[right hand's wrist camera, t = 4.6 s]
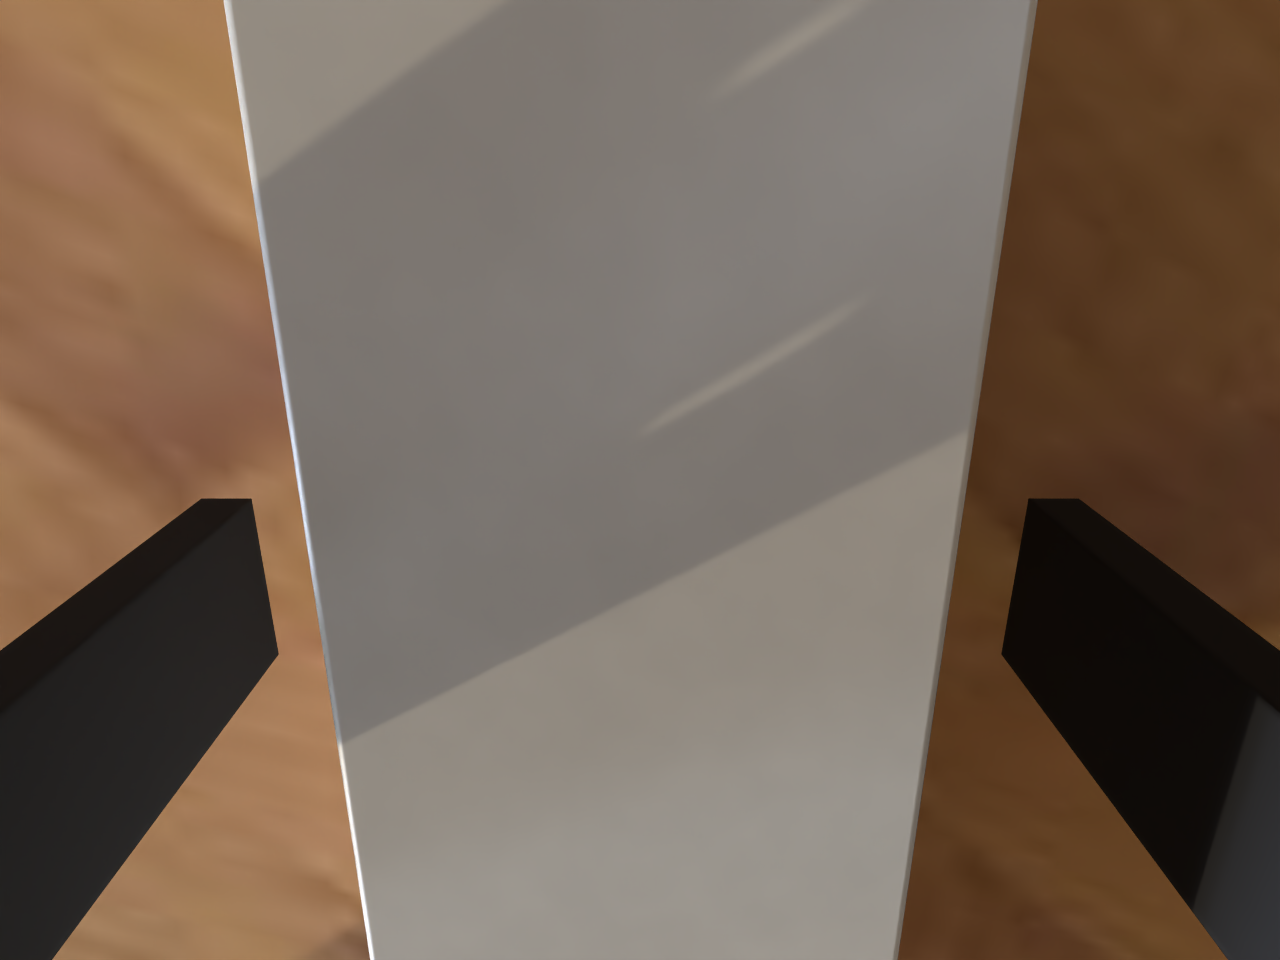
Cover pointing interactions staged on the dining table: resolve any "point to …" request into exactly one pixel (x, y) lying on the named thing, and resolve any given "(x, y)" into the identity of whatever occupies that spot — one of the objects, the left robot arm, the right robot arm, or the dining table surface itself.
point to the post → (632, 445)
